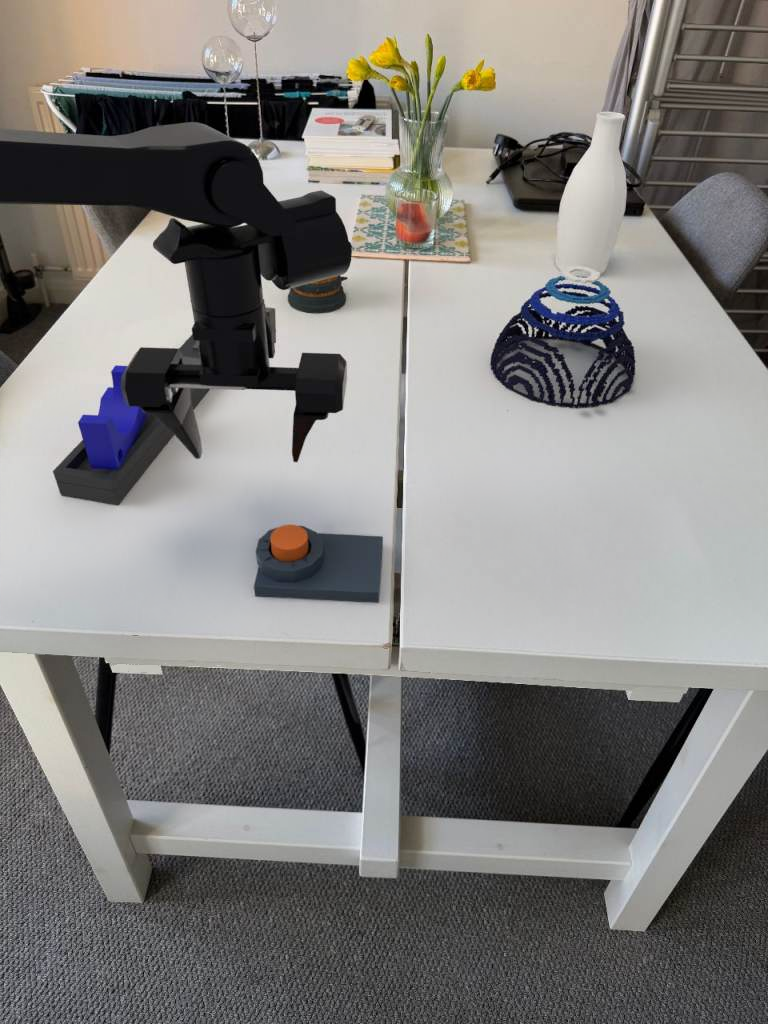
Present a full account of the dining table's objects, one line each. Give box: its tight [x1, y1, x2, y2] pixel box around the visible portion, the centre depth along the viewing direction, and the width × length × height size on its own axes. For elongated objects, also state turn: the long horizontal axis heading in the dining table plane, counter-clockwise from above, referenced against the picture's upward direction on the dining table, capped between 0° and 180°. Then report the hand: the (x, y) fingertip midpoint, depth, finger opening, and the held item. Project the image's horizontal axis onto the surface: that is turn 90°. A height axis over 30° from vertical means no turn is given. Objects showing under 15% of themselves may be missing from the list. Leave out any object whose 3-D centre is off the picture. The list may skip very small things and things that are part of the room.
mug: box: [287, 275, 348, 314], centre depth 119 cm, size 13×10×12 cm
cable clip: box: [77, 364, 148, 470], centre depth 82 cm, size 12×4×6 cm, turn 178°
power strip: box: [52, 334, 210, 506], centre depth 94 cm, size 39×7×3 cm, turn 167°
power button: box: [270, 524, 308, 562], centre depth 71 cm, size 4×4×2 cm
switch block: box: [253, 525, 384, 603], centre depth 73 cm, size 12×8×3 cm, turn 87°
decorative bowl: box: [489, 265, 637, 409], centre depth 101 cm, size 20×20×14 cm
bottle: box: [554, 111, 628, 277], centre depth 126 cm, size 11×11×25 cm
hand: (247, 457), depth 69 cm, fingers open, 9 cm apart
